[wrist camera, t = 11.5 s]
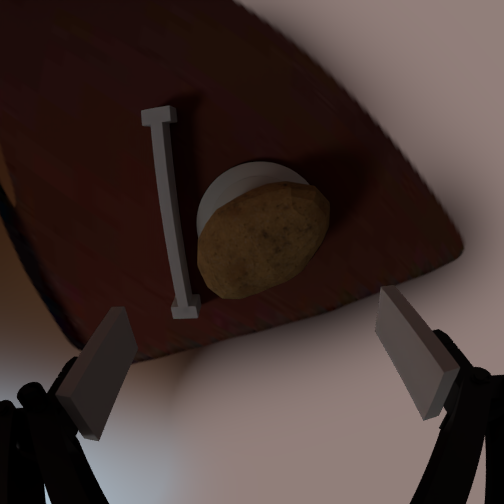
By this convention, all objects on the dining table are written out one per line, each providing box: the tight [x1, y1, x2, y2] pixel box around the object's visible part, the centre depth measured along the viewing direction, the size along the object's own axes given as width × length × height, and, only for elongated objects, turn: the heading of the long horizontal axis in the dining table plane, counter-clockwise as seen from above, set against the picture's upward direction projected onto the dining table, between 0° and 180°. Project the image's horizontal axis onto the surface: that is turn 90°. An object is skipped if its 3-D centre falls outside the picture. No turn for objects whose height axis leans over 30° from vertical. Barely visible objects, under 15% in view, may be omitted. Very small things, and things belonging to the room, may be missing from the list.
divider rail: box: [141, 106, 201, 319], centre depth 33 cm, size 24×3×3 cm, turn 4°
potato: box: [197, 181, 330, 299], centre depth 30 cm, size 10×14×8 cm
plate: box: [196, 161, 309, 239], centre depth 34 cm, size 14×14×1 cm
